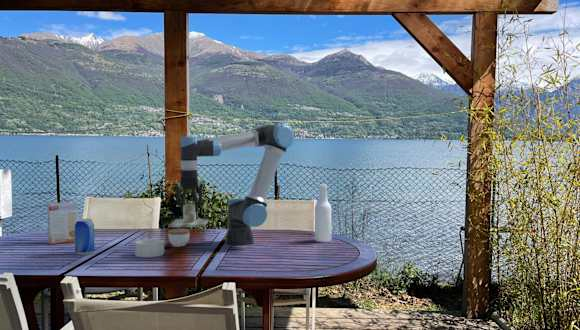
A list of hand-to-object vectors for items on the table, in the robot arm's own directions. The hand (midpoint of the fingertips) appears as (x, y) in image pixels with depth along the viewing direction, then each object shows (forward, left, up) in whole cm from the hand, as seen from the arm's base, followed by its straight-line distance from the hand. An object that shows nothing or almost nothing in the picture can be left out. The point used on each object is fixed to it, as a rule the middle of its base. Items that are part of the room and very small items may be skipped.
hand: (189, 219), depth 253 cm
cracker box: (+71, -29, -17) cm, 78 cm away
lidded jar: (+9, -20, -17) cm, 28 cm away
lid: (0, 0, -2) cm, 2 cm away
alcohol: (-65, -31, -17) cm, 74 cm away
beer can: (+50, -2, -17) cm, 53 cm away
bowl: (+19, 0, -17) cm, 25 cm away
